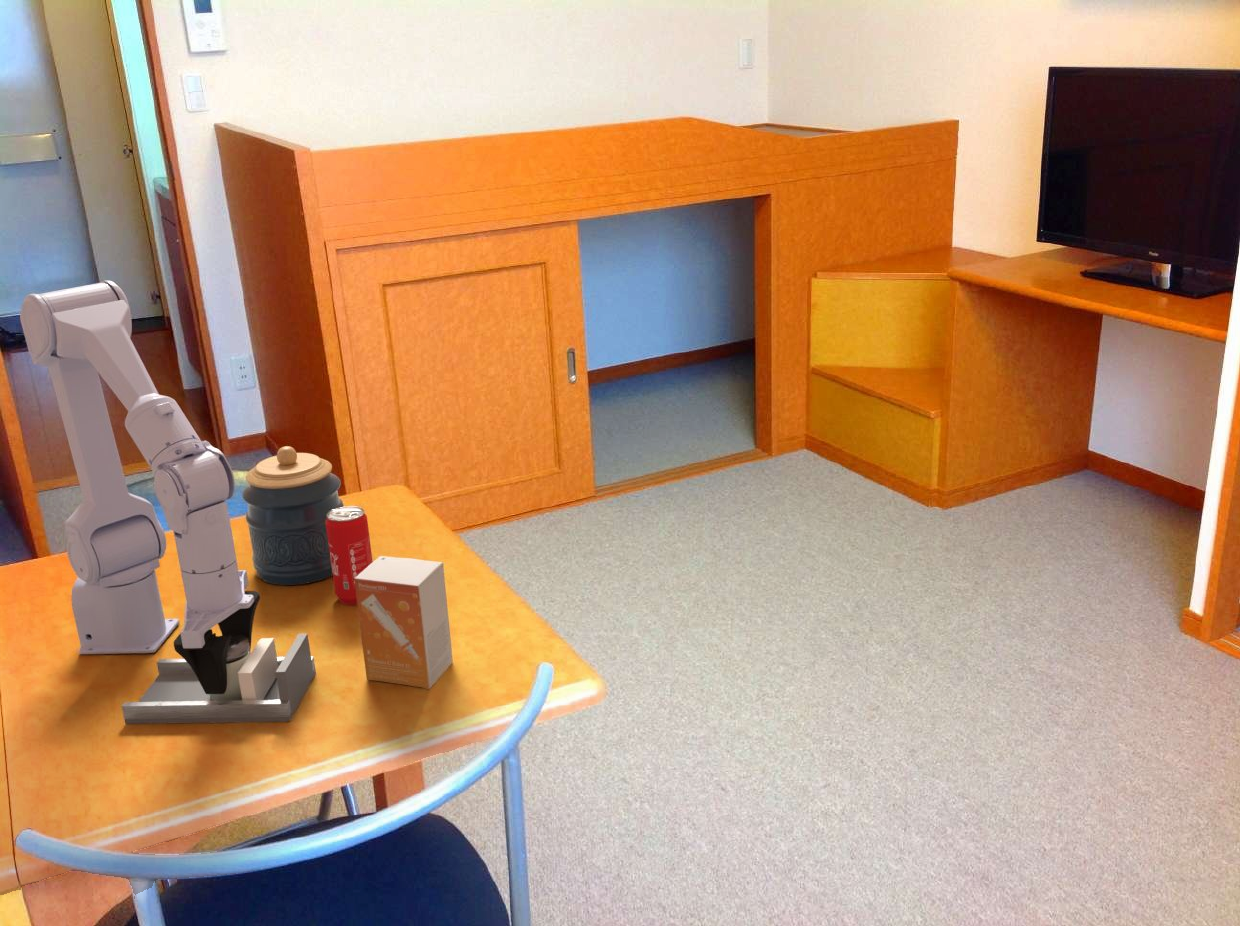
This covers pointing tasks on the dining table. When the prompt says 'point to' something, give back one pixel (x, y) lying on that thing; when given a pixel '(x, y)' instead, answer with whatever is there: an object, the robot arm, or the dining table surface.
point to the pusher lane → (187, 702)
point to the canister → (291, 516)
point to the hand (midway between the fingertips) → (228, 673)
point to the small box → (404, 621)
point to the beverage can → (348, 549)
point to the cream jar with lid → (234, 667)
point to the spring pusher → (259, 670)
